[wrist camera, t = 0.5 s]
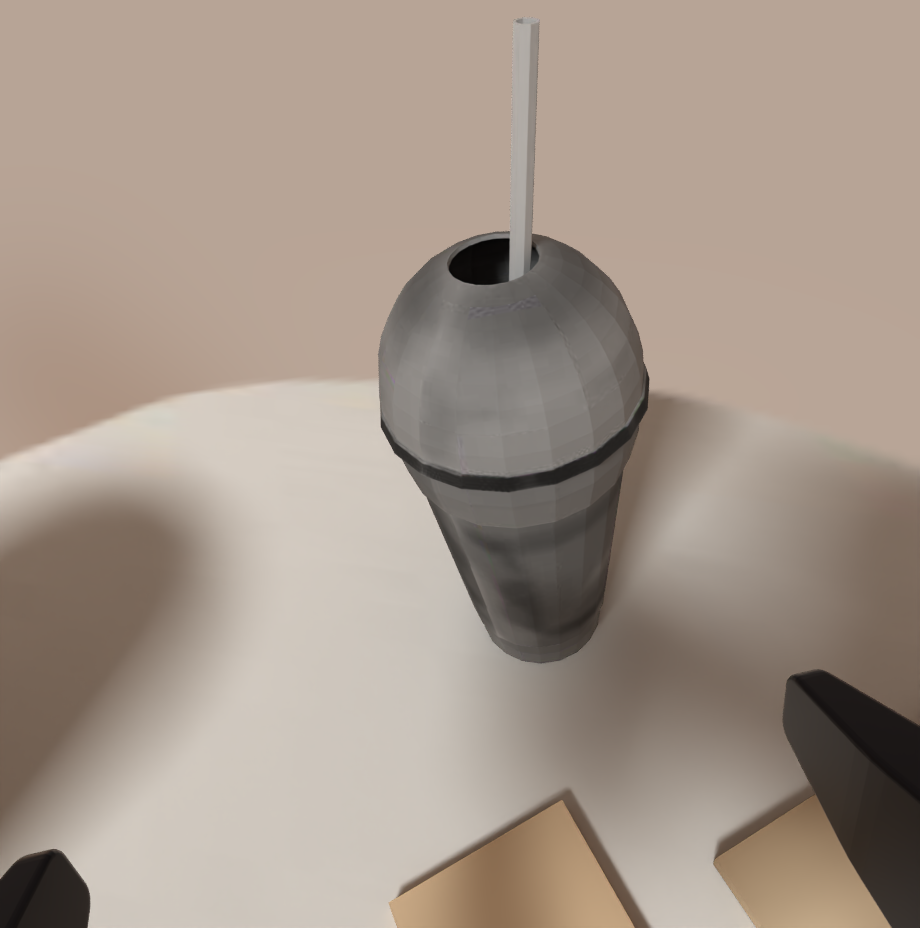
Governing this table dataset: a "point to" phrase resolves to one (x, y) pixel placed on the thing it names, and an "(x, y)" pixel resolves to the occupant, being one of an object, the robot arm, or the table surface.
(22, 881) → the robot arm
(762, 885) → the cork mat
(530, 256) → the beverage cup
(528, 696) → the table surface
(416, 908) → the wooden turner
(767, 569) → the table surface
